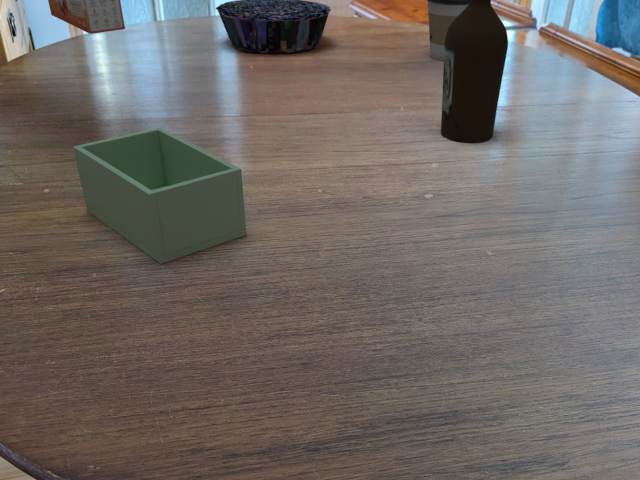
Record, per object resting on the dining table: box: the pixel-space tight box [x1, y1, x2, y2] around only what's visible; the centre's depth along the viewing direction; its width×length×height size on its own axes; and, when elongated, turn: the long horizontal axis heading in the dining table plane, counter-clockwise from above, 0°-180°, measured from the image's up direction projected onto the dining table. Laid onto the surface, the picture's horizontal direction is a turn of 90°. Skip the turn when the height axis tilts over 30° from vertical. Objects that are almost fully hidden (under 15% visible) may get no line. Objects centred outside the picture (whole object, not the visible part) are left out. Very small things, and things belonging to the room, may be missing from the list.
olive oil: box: [440, 0, 509, 143], centre depth 123 cm, size 11×11×25 cm
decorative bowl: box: [215, 0, 332, 54], centre depth 176 cm, size 26×28×10 cm
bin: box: [72, 126, 248, 265], centre depth 94 cm, size 13×20×9 cm, turn 43°
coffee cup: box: [426, 0, 471, 62], centre depth 170 cm, size 11×11×15 cm
